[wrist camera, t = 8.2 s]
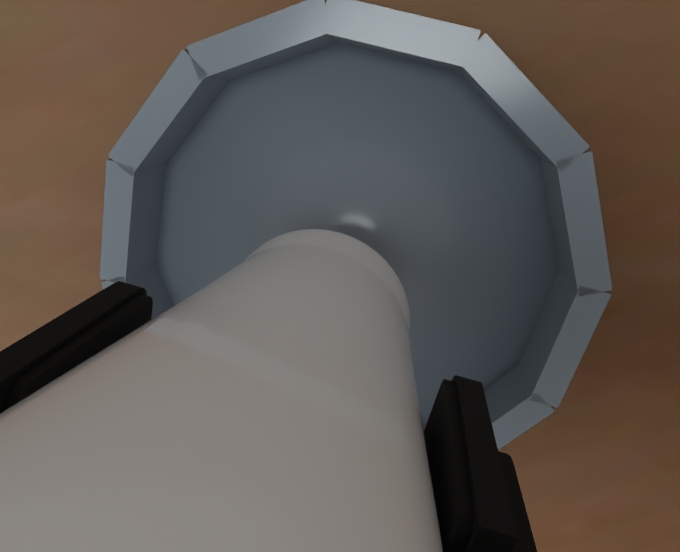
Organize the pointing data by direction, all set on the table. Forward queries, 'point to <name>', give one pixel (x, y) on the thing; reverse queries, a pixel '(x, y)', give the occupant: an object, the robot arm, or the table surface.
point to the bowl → (376, 188)
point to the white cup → (236, 421)
